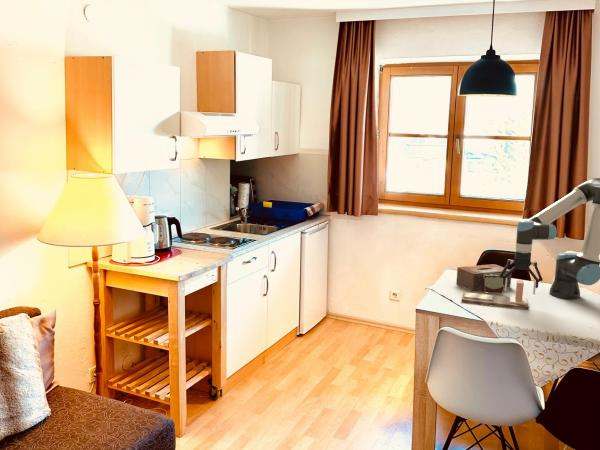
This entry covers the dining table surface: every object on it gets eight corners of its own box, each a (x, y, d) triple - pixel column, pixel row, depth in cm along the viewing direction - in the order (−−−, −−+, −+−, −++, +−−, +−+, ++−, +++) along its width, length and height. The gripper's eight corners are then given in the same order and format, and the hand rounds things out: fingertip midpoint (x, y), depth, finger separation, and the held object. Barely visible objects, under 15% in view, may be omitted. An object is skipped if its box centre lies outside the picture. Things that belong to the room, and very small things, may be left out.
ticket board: (526, 301, 309) (527, 297, 309) (528, 309, 296) (528, 305, 296) (462, 294, 319) (463, 290, 319) (461, 302, 306) (461, 297, 305)
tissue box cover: (472, 291, 327) (473, 273, 325) (456, 284, 340) (457, 267, 338) (510, 287, 336) (511, 270, 334) (493, 280, 349) (494, 264, 347)
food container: (502, 290, 329) (504, 272, 327) (505, 293, 323) (507, 275, 321) (479, 289, 330) (481, 271, 328) (482, 292, 324) (483, 274, 322)
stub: (526, 300, 307) (528, 280, 305) (527, 305, 299) (529, 284, 297) (509, 298, 309) (511, 278, 307) (510, 303, 301) (512, 282, 300)
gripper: (549, 252, 299) (545, 293, 303) (497, 247, 306) (493, 287, 310) (550, 255, 292) (546, 297, 296) (497, 250, 299) (493, 291, 303)
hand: (519, 292), depth 303 cm, fingers open, 13 cm apart
